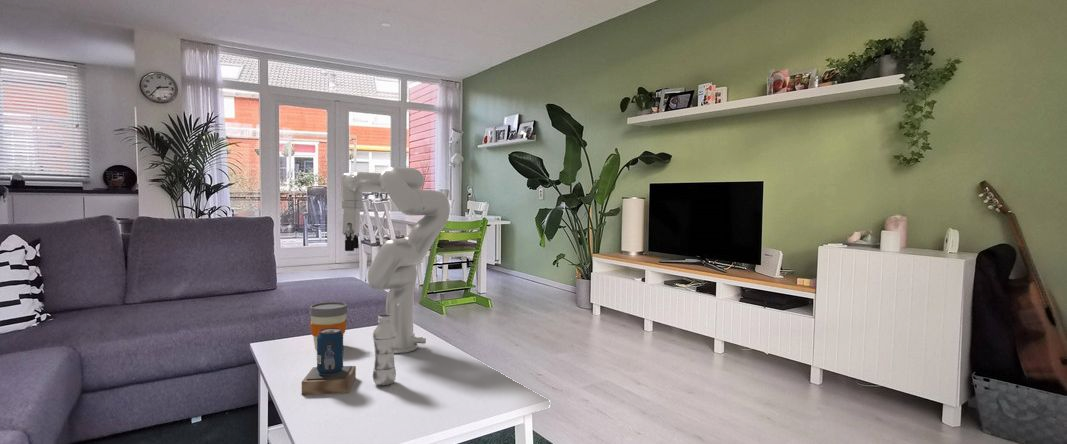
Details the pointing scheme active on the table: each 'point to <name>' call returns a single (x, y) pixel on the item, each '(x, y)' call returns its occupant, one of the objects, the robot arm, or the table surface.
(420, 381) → the table surface
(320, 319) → the reusable coffee cup
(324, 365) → the soda can
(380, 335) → the plastic bottle
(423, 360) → the table surface
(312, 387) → the walnut base
